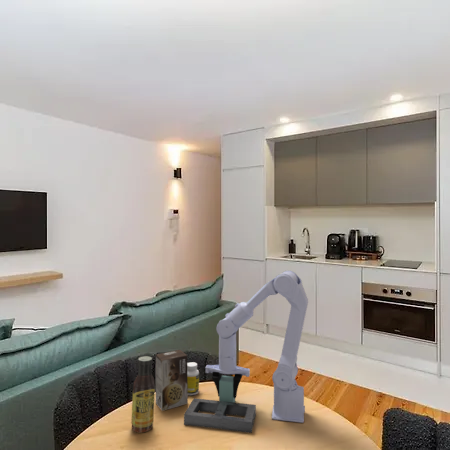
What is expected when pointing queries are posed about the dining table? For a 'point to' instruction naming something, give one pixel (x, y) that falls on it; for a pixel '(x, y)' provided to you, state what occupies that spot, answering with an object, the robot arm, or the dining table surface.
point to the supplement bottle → (192, 378)
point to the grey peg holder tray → (220, 415)
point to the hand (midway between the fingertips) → (227, 395)
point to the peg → (226, 389)
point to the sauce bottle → (143, 397)
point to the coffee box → (171, 379)
